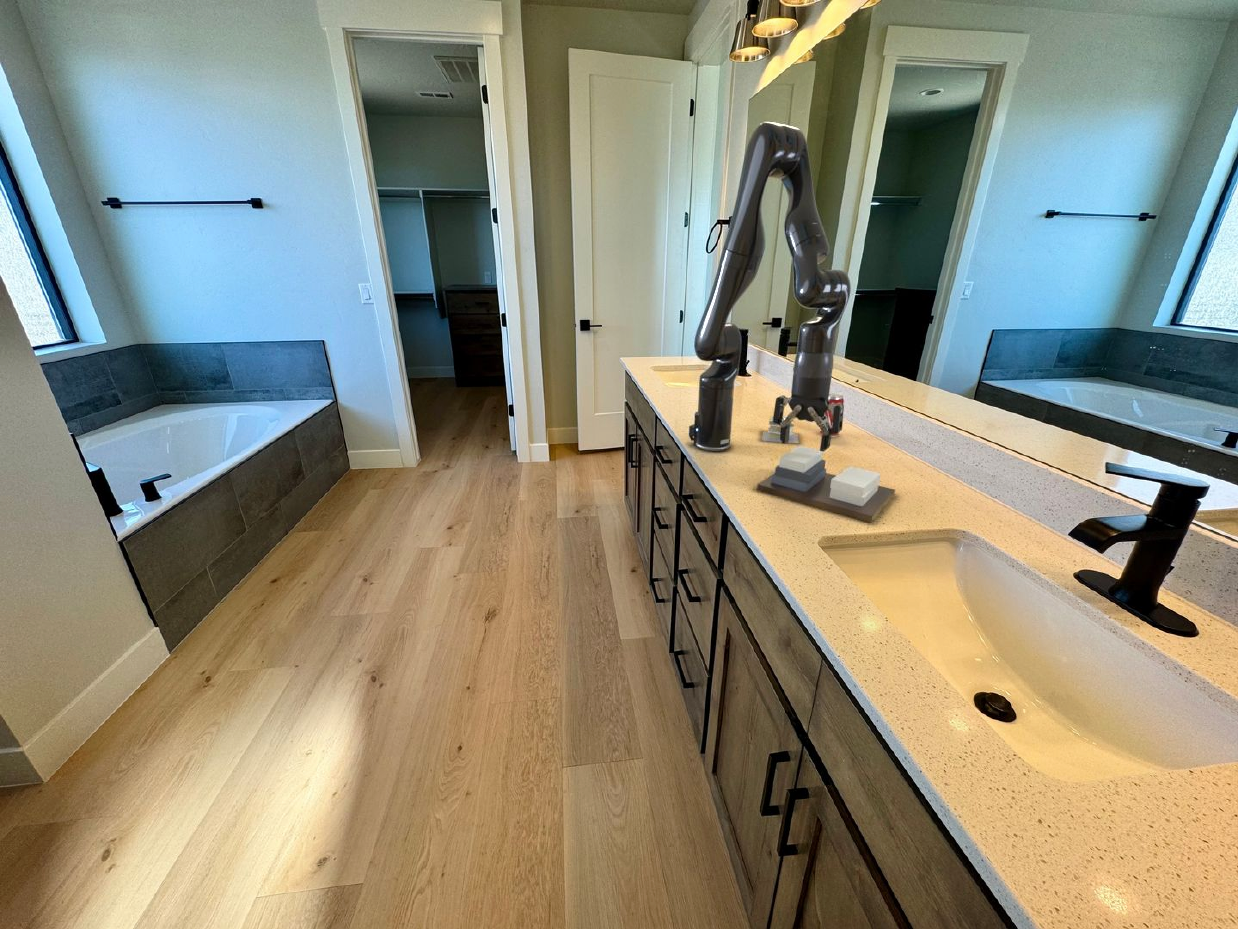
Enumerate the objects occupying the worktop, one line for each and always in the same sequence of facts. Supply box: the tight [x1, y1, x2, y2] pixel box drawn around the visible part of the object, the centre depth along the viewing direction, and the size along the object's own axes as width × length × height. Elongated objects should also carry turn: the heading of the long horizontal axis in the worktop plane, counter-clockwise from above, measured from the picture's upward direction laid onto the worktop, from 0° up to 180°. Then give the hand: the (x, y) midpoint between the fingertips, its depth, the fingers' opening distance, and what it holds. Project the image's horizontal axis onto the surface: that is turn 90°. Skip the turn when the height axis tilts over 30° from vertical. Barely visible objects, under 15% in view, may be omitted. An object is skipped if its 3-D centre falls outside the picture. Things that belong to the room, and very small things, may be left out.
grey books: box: [771, 459, 827, 492], centre depth 110 cm, size 8×11×4 cm
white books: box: [830, 466, 882, 506], centre depth 103 cm, size 7×10×4 cm
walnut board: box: [756, 472, 896, 524], centre depth 108 cm, size 24×16×2 cm, turn 48°
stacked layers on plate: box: [761, 416, 800, 444], centre depth 142 cm, size 10×9×6 cm
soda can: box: [819, 393, 845, 439], centre depth 143 cm, size 5×5×12 cm
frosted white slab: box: [778, 445, 824, 473], centre depth 109 cm, size 6×10×2 cm, turn 138°
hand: (803, 446), depth 108 cm, fingers open, 8 cm apart
